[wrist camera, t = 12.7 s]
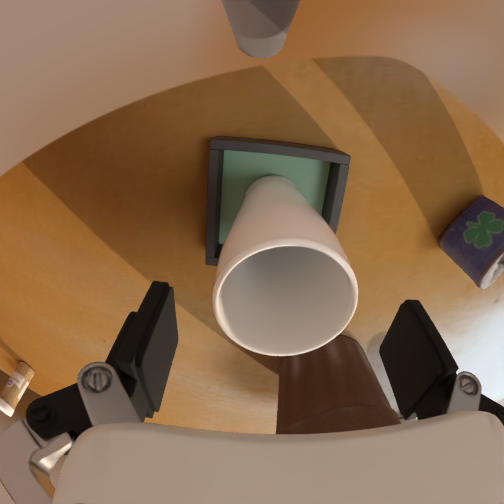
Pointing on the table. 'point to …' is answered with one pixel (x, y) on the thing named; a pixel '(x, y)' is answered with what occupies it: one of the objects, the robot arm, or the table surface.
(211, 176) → the cup holder
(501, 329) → the table surface
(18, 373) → the sprinkles bottle
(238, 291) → the white tapered cylinder
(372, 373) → the plant pot
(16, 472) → the robot arm
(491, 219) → the flask
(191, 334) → the table surface
